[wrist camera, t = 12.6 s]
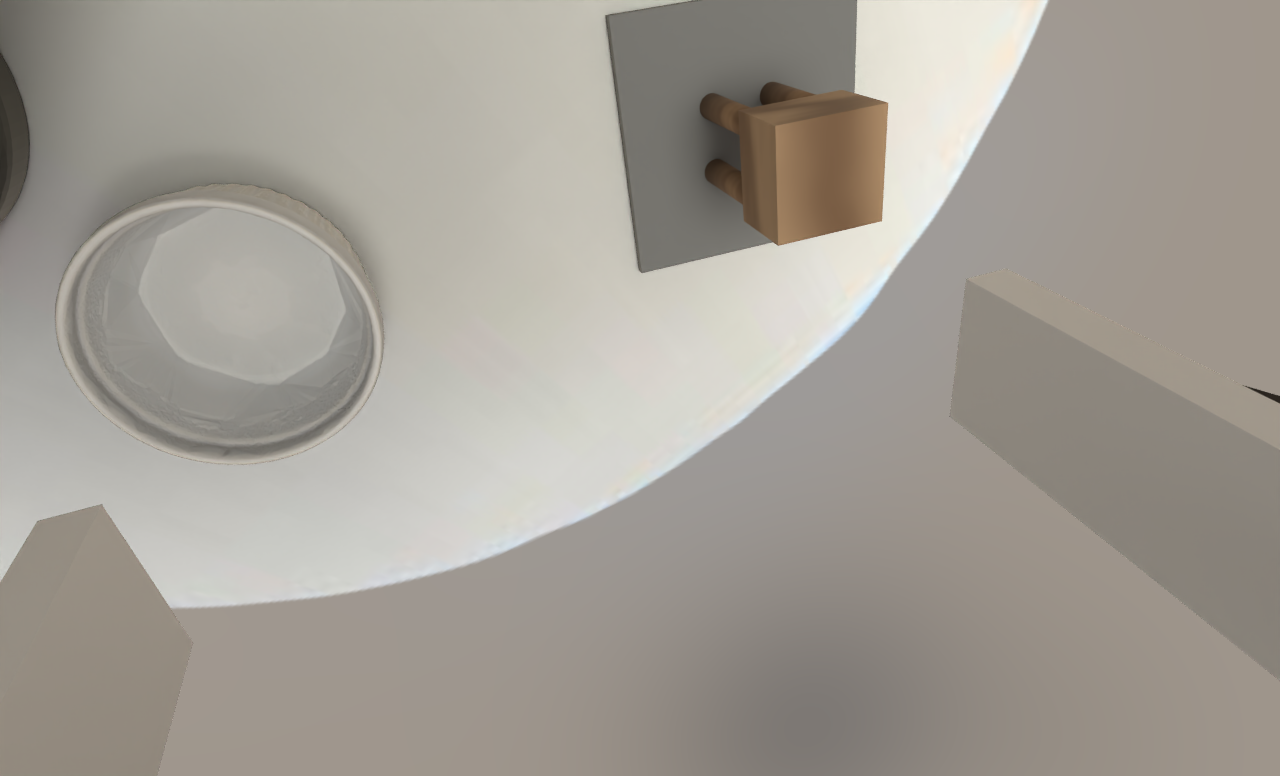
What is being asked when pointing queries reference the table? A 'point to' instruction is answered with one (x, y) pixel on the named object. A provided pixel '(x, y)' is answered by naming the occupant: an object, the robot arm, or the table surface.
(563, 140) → the table surface
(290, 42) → the table surface
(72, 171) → the table surface
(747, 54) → the mat
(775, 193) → the stool
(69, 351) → the ramekin
